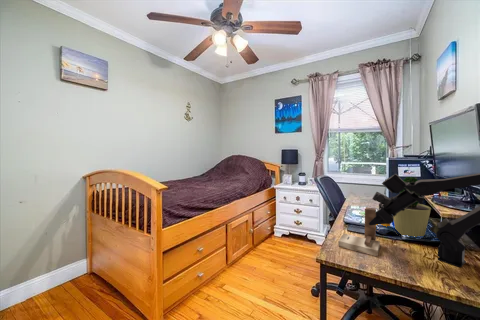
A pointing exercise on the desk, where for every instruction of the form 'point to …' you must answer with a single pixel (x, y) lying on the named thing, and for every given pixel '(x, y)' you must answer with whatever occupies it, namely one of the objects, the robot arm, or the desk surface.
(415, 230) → the potted cactus
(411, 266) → the desk surface
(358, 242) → the pine board
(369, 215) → the tan upright block
